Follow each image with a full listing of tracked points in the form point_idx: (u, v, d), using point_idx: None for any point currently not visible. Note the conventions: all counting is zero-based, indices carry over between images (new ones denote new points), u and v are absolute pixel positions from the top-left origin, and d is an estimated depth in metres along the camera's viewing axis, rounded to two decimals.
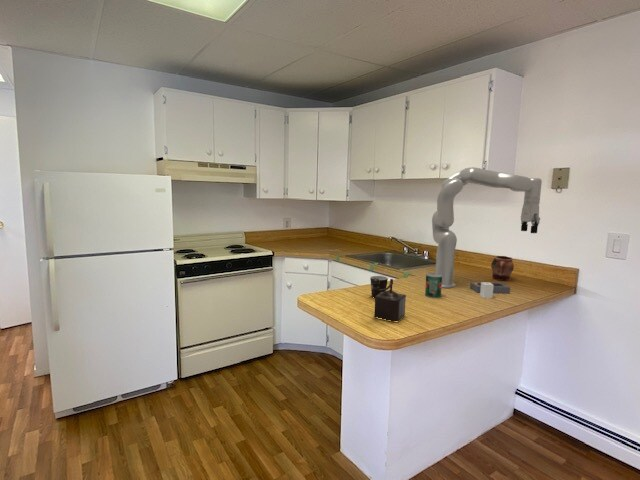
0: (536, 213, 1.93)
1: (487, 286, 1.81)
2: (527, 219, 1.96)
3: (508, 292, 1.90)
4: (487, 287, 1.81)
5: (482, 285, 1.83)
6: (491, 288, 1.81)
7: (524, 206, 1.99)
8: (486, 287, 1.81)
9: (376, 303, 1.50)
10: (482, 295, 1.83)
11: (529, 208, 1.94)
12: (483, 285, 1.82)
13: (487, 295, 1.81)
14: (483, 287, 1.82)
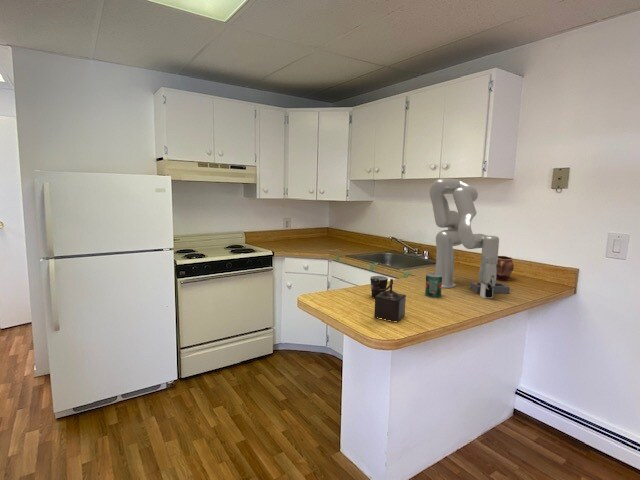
0: (493, 275, 1.77)
1: None
2: (484, 280, 1.80)
3: (508, 292, 1.90)
4: None
5: (482, 285, 1.83)
6: None
7: (481, 265, 1.83)
8: (486, 287, 1.81)
9: (376, 303, 1.50)
10: (482, 295, 1.83)
11: (486, 269, 1.78)
12: (483, 285, 1.82)
13: None
14: (483, 287, 1.82)
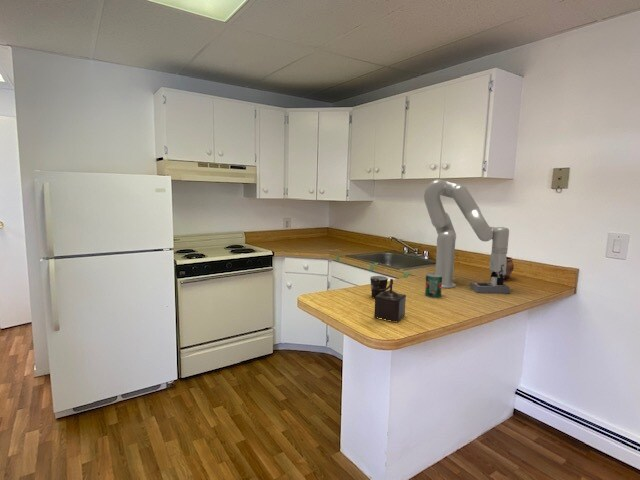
0: (503, 264, 1.87)
1: None
2: (494, 269, 1.90)
3: (508, 292, 1.90)
4: None
5: (492, 279, 1.94)
6: None
7: (492, 255, 1.94)
8: (496, 281, 1.91)
9: (376, 303, 1.50)
10: None
11: (496, 259, 1.88)
12: (493, 279, 1.93)
13: None
14: (493, 281, 1.93)
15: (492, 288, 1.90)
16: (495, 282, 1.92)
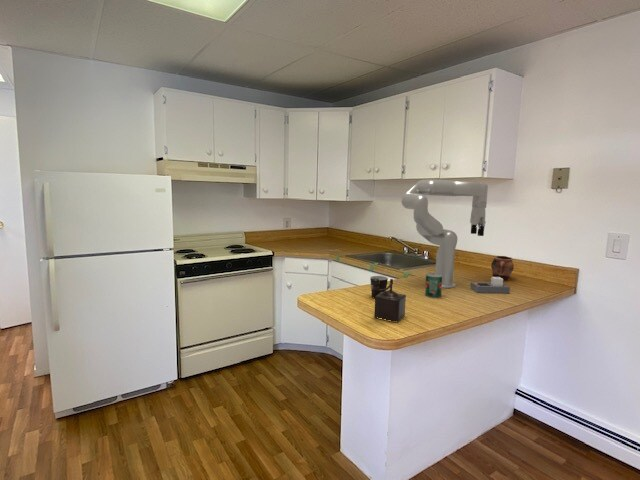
0: (482, 217, 2.02)
1: (497, 280, 1.91)
2: (474, 222, 2.05)
3: (508, 292, 1.90)
4: (497, 281, 1.91)
5: (492, 279, 1.94)
6: (501, 282, 1.91)
7: (472, 210, 2.08)
8: (496, 281, 1.91)
9: (376, 303, 1.50)
10: None
11: (476, 212, 2.03)
12: (493, 279, 1.93)
13: None
14: (493, 281, 1.93)
15: (492, 288, 1.90)
16: (495, 282, 1.92)
